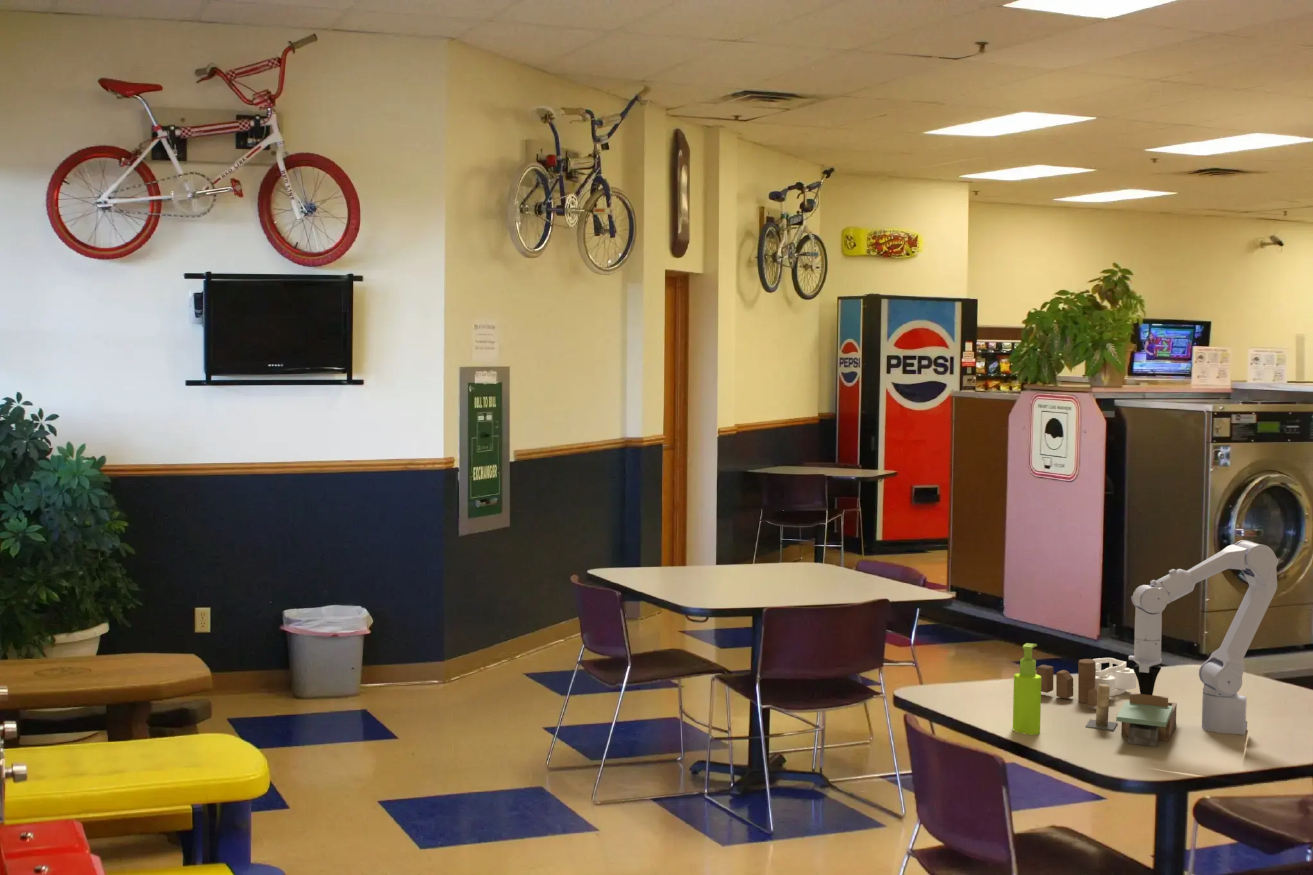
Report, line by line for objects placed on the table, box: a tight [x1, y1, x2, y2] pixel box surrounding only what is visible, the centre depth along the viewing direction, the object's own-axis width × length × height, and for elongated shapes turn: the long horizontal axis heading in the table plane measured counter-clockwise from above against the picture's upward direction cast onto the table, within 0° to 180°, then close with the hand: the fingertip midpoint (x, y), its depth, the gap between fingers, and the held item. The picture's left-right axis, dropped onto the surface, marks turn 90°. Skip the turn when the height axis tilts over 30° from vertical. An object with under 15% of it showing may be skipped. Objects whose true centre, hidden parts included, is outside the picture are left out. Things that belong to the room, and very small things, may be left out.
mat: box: [1085, 719, 1118, 732], centre depth 301 cm, size 6×7×1 cm
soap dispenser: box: [1012, 642, 1042, 736], centre depth 294 cm, size 6×7×20 cm
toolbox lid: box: [1115, 692, 1173, 727], centre depth 290 cm, size 10×16×3 cm, turn 154°
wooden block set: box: [1036, 658, 1097, 707], centre depth 323 cm, size 18×9×10 cm, turn 43°
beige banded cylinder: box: [1095, 684, 1110, 726], centre depth 301 cm, size 3×3×9 cm
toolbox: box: [1120, 699, 1178, 747], centre depth 296 cm, size 10×22×5 cm, turn 154°
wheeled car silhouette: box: [1092, 657, 1137, 697], centre depth 333 cm, size 20×11×7 cm, turn 133°
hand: (1146, 697), depth 300 cm, fingers closed
